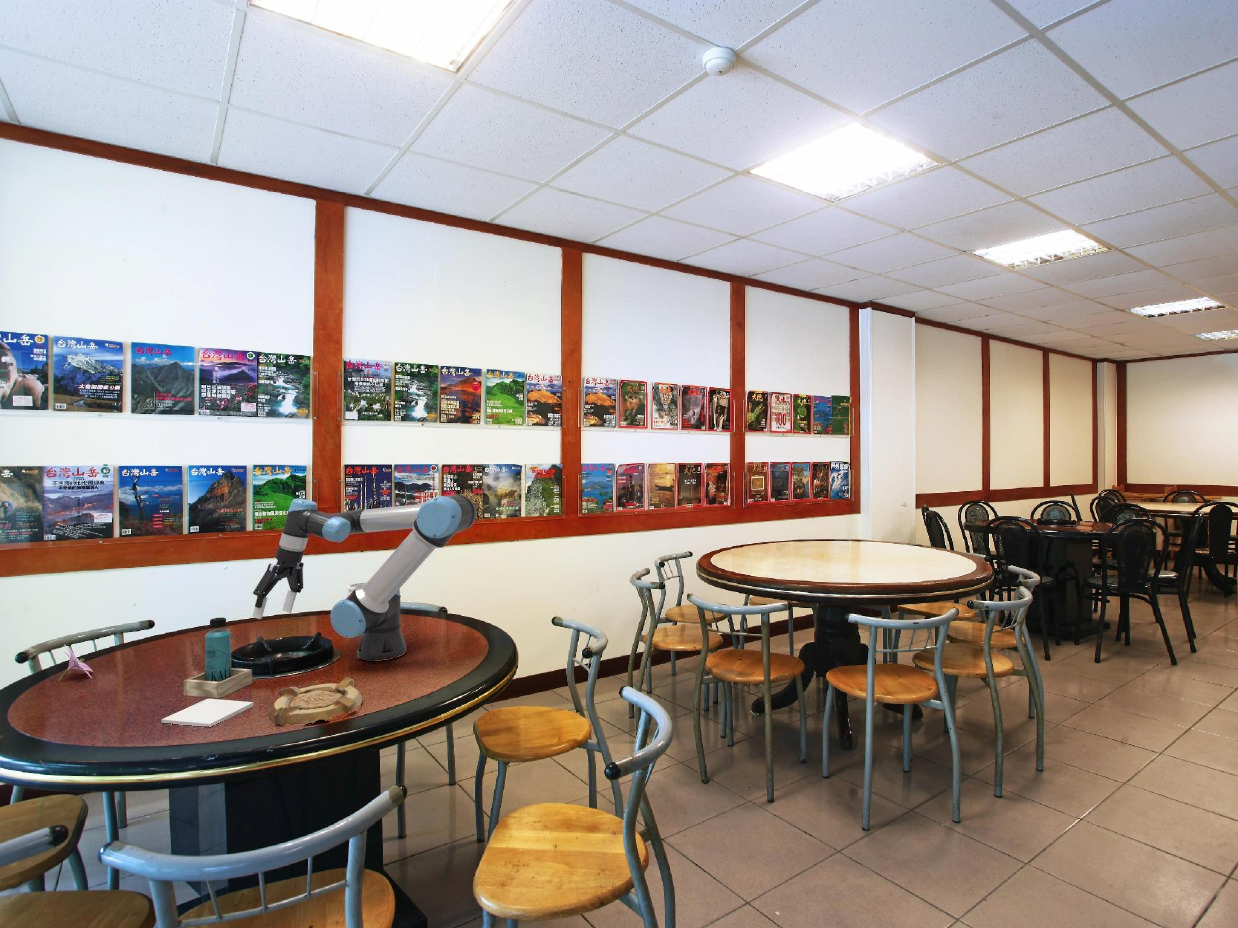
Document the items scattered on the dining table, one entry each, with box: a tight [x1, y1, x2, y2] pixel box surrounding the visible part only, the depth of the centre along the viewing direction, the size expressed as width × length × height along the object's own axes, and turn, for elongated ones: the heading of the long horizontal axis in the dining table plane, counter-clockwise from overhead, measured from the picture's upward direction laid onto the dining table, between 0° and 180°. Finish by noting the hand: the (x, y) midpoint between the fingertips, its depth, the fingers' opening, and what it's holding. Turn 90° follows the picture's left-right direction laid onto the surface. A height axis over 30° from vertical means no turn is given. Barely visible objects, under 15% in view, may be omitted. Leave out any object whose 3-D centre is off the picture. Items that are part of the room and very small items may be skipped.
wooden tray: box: [183, 667, 253, 699], centre depth 185 cm, size 12×12×4 cm
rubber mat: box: [161, 698, 254, 728], centre depth 167 cm, size 14×14×1 cm
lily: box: [58, 644, 94, 682], centre depth 194 cm, size 12×12×10 cm
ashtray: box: [268, 676, 363, 726], centre depth 171 cm, size 24×24×5 cm
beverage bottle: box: [204, 616, 233, 682], centre depth 185 cm, size 6×7×20 cm
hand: (272, 614), depth 204 cm, fingers open, 13 cm apart
